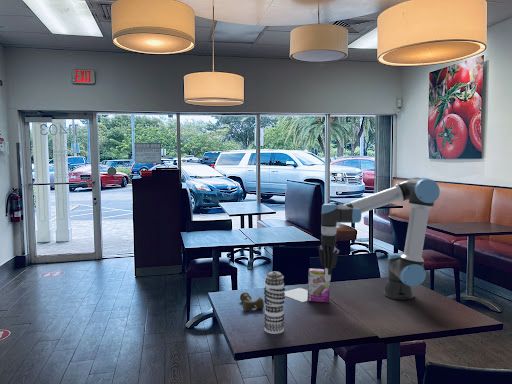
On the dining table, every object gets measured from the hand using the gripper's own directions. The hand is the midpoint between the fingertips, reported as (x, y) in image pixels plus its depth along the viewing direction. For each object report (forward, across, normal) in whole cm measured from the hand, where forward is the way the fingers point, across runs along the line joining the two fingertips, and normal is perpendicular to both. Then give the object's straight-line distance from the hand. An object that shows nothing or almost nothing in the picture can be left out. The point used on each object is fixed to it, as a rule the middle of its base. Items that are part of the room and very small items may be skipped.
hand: (327, 280), depth 208 cm
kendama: (+13, -21, -33) cm, 41 cm away
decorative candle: (+13, +6, -42) cm, 44 cm away
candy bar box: (+13, -6, 0) cm, 14 cm away
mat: (+13, -19, 0) cm, 23 cm away
